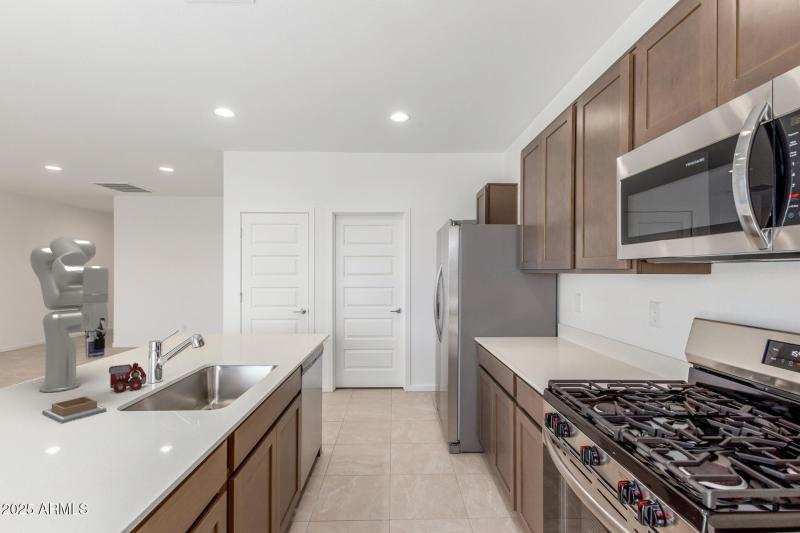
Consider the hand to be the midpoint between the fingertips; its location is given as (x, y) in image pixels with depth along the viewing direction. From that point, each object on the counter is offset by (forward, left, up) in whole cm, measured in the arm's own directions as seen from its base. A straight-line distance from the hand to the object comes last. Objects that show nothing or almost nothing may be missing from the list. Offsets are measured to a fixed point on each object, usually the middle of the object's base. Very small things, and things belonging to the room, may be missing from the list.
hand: (95, 348), depth 140 cm
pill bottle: (0, 0, -4) cm, 4 cm away
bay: (+6, -8, -20) cm, 22 cm away
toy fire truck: (-7, +14, -20) cm, 25 cm away
